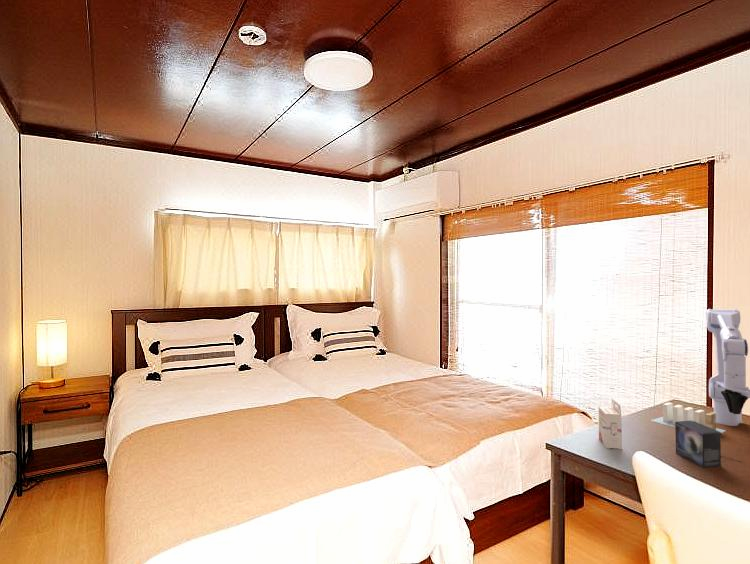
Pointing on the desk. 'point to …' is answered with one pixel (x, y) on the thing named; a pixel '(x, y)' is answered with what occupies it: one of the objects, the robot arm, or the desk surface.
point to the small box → (698, 443)
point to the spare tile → (710, 420)
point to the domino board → (670, 423)
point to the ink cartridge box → (610, 426)
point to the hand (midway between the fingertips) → (734, 413)
